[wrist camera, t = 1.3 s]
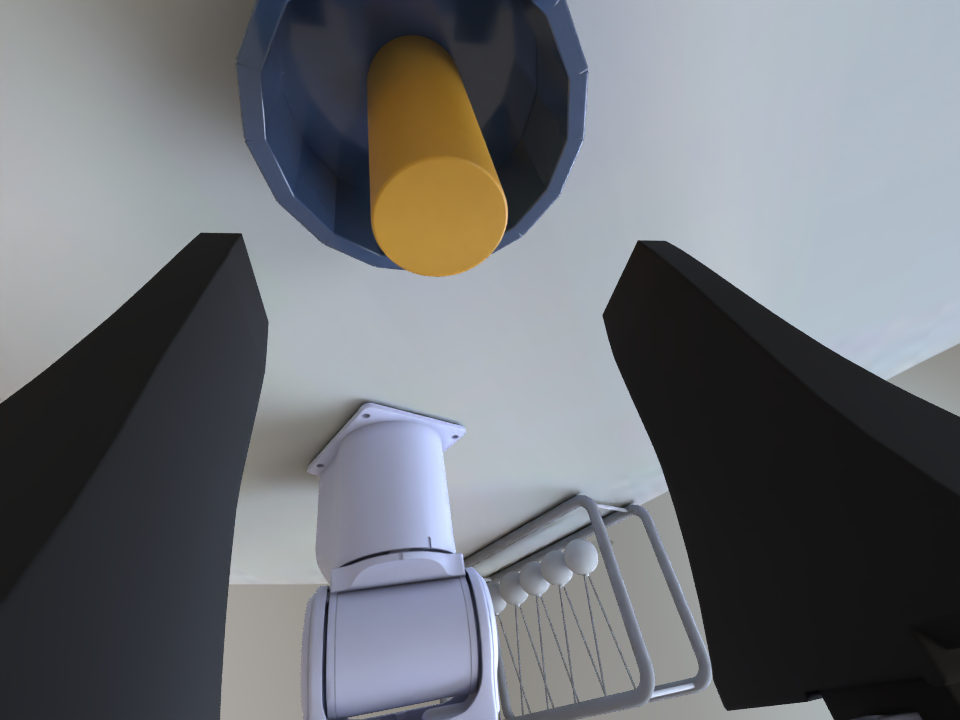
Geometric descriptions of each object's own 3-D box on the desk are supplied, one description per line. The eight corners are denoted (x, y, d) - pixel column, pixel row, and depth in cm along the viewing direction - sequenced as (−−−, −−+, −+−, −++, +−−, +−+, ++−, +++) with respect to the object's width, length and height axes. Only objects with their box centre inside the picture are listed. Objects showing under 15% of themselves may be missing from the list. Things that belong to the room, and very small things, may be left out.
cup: (545, 176, 19) (578, 241, 16) (330, 221, 19) (325, 294, 16) (542, -337, 10) (617, -396, 7) (119, -255, 10) (19, -280, 7)
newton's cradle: (485, 580, 68) (510, 730, 57) (427, 579, 62) (442, 746, 51) (646, 498, 52) (724, 686, 41) (586, 486, 46) (659, 702, 35)
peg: (428, 153, 16) (456, 294, 12) (350, 103, 15) (346, 244, 10) (479, 76, 15) (536, 204, 10) (397, 9, 13) (420, 125, 8)
